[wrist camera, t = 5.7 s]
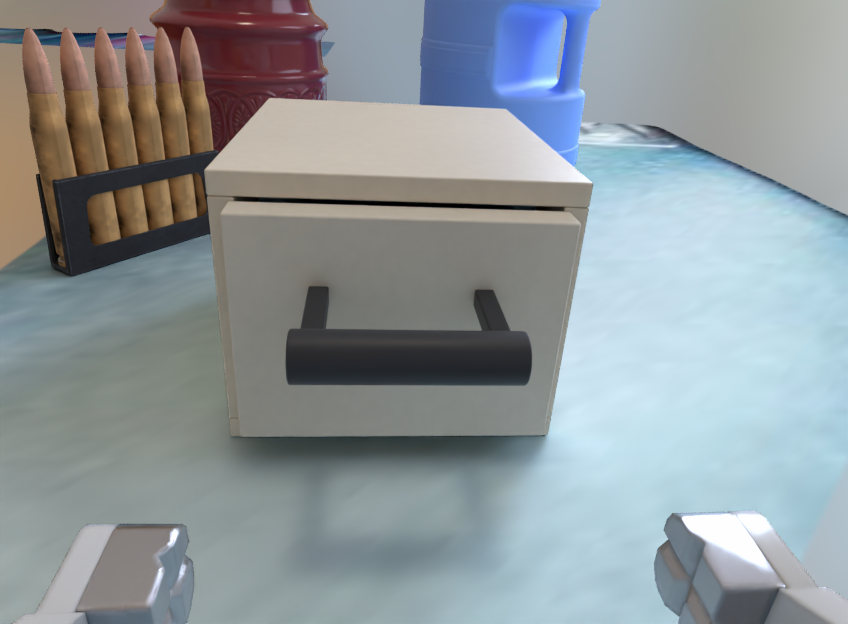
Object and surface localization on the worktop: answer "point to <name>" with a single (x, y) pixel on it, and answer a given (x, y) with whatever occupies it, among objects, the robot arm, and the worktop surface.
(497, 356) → the cabinet drawer
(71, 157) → the ammunition clip
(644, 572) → the worktop surface
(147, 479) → the worktop surface
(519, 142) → the small drawer cabinet
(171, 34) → the kitchen canister
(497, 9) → the water jug
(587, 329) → the worktop surface
